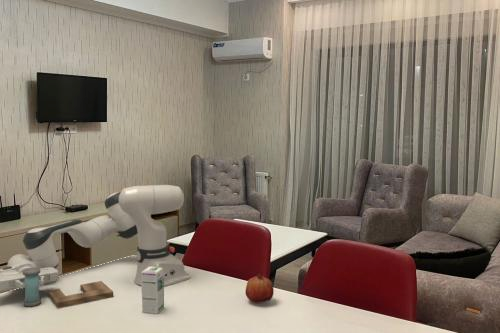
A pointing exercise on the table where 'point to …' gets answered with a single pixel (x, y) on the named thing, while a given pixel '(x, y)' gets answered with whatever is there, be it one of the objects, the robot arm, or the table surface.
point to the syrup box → (152, 290)
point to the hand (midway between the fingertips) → (32, 284)
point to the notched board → (81, 295)
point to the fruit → (259, 289)
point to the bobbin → (32, 287)
